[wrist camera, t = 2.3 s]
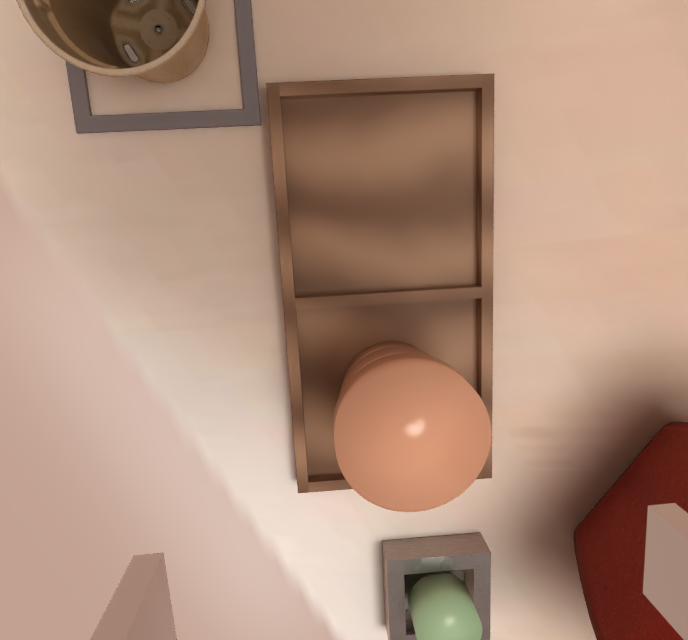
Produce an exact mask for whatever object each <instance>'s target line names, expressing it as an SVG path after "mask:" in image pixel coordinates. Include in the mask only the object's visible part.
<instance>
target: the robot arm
mask: <svg viewBox="0 0 688 640" xmlns="http://www.w3.org/2000/svg"><path fill="white" fill-rule="evenodd" d="M643 594H644V595H645V596H646V597H647V598H648V600H649V601H650V602H651V603H652V604H653V605H654V606H655V608H656V609H657V610H658V611H659V612H660V613H661V614H662V616H663V617H664V618H665V619H666V620H667V621H668V622H669V624H670V625H671V626H672V627H673V628H674V629H675V630H676V632H677V633H678V634H679V635H680V636H681V637H682V638H683V640H688V513H687V512H686V511H684V510H683V509H682V508H681V507H679V506H678V505H677V504H676V503H669V504H659V505H648V512H647V529H646V546H645V563H644V580H643ZM90 640H177V639H176V632H175V625H174V618H173V612H172V605H171V599H170V593H169V586H168V579H167V573H166V566H165V560H164V553H154V554H145V555H134V556H133V558H132V560H131V562H130V564H129V566H128V568H127V570H126V571H125V573H124V575H123V577H122V579H121V581H120V583H119V585H118V587H117V589H116V591H115V593H114V595H113V597H112V599H111V600H110V602H109V604H108V607H107V608H106V610H105V612H104V614H103V616H102V618H101V620H100V622H99V624H98V626H97V628H96V629H95V631H94V633H93V635H92V637H91V639H90Z"/></svg>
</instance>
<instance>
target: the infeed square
mask: <svg viewBox="0 0 688 640" xmlns="http://www.w3.org/2000/svg"><path fill="white" fill-rule="evenodd" d="M235 11H236V22H237V34H238V46H239V57H240V69H241V80H242V92H243V103H244V109H237V110H215V111H192V112H170V113H147V114H124V115H102V116H92V115H91V108H90V101H89V95H88V88H87V81H86V74H85V70H84V69H81V68H79V67H77V66H75V65H73V64H71V63H69V62H67V61H66V66H67V72H68V79H69V86H70V92H71V99H72V106H73V112H74V119H75V126H76V132H77V133H78V134H79V133H101V132H123V131H145V130H167V129H189V128H211V127H232V126H254V125H261V120H260V107H259V95H258V83H257V70H256V58H255V46H254V33H253V21H252V8H251V0H235Z"/></svg>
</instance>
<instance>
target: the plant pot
mask: <svg viewBox="0 0 688 640" xmlns="http://www.w3.org/2000/svg"><path fill="white" fill-rule="evenodd" d="M669 503H676V504H677V505H678V506H679V507H681V508H682V509H683V510H684V511H686V512H687V513H688V422H683V423H682V422H674V423H670V424H668V425H666V426H665V427H663V428H662V430H661V431H660V432H659V433H658V434H657V435H656V436H655V437H654V439H653V440H652V441H651V442H650V443H649V444H648V446H647V447H646V448H645V449H644V450H643V452H642V453H641V454H640V455H639V456H638V457H637V459H636V460H635V461H634V462H633V463H632V465H631V466H630V467H629V468H628V469H627V470H626V471H625V473H624V474H623V475H622V476H621V477H620V478H619V480H618V481H617V482H616V483H615V484H614V485H613V487H612V488H611V489H610V490H609V491H608V493H607V494H606V495H605V496H604V497H603V498H602V500H601V501H600V502H599V503H598V504H597V505H596V506H595V508H594V509H593V510H592V511H591V512H590V513H589V515H588V516H587V517H586V518H585V519H584V520H583V522H582V523H581V524H580V525H579V526H578V527H577V529H576V531H575V533H574V546H575V554H576V559H577V565H578V571H579V575H580V580H581V584H582V589H583V593H584V598H585V601H586V605H587V609H588V613H589V616H590V620H591V623H592V626H593V629H594V633H595V635H596V638H597V640H683V638H682V637H681V636H680V635H679V634H678V633H677V632H676V630H675V629H674V628H673V627H672V626H671V625H670V624H669V622H668V621H667V620H666V619H665V618H664V617H663V616H662V614H661V613H660V612H659V611H658V610H657V609H656V608H655V606H654V605H653V604H652V603H651V602H650V601H649V600H648V598H647V597H646V596H645V595H644V594H643V580H644V563H645V546H646V529H647V512H648V505H659V504H669Z"/></svg>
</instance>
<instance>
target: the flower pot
mask: <svg viewBox="0 0 688 640" xmlns="http://www.w3.org/2000/svg"><path fill="white" fill-rule="evenodd" d="M190 1H191V2H192V3H193V5H194V6H195V7H196V11H195V14H194V16H193V15H192V13H191V12H190V10H189V9H188V7H187V6H186V5H185V3H184V2H183V0H140V1H139V2H138V1H135V2H134V3H130V2H129V0H17V3H18V5H19V7H20V9H21V11H22V13H23V16H24V17H25V19H26V20H27V22H28V23H29V25H30V27H31V28H32V29H33V31H34V32H35V33H36V35H37V36H38V37H39V38H40V39H41V40H42V41H43V42H44V43H45V44H46V46H48V47H49V48H50V49H51V50H52V51H53V52H55V53H56V54H57V55H59V56H60V57H61V58H63V59H64V60H66V61H67V62H69V63H71V64H73V65H75V66H77V67H79V68H81V69H84V70H86V71H89V72H92V73H96V74H100V75H106V76H132V75H137V76H140V77H142V78H144V79H146V80H149V81H153V82H173V81H177V80H180V79H182V78H184V77H186V76H188V75H189V74H190V73H192V72H193V71H194V70H195V69H196V68H197V66H198V65H199V64H200V63H201V61H202V59H203V57H204V55H205V53H206V49H207V45H208V39H209V26H208V21H207V17H206V13H205V5H206V0H190ZM156 26H161V27H162V31H161V32H156V31H155V27H156ZM124 44H129V45H130V46H131V48H132V49H133V51H134V52H135V54H136V55H137V56H138V57H139V60H138V61H137V62H132V61H131V60H130V58H129V56H128V54H127V52H126V51H125V49H124Z"/></svg>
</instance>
